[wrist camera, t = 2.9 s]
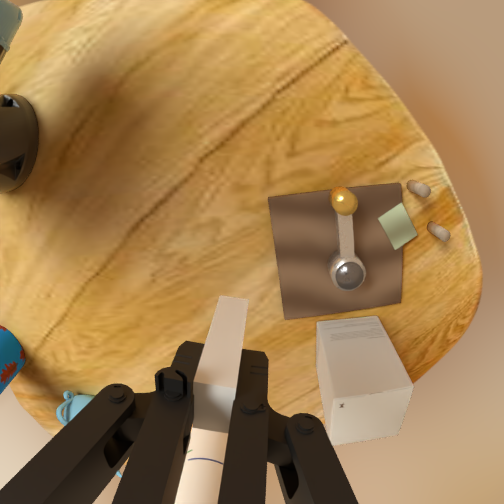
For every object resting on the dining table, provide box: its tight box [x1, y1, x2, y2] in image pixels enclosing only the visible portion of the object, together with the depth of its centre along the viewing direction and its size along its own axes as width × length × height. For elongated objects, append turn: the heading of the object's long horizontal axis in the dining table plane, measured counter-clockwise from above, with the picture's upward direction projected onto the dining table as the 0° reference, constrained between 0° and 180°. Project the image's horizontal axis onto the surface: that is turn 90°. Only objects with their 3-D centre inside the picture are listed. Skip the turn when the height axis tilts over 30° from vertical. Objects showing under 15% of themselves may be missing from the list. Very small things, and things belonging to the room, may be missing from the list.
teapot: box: [56, 391, 122, 478], centre depth 49 cm, size 15×15×10 cm
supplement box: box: [316, 316, 414, 446], centre depth 37 cm, size 9×9×15 cm
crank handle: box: [327, 186, 366, 291], centre depth 35 cm, size 12×4×4 cm, turn 9°
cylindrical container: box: [175, 427, 228, 504], centre depth 38 cm, size 7×7×25 cm
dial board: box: [268, 180, 450, 320], centre depth 37 cm, size 16×21×4 cm
